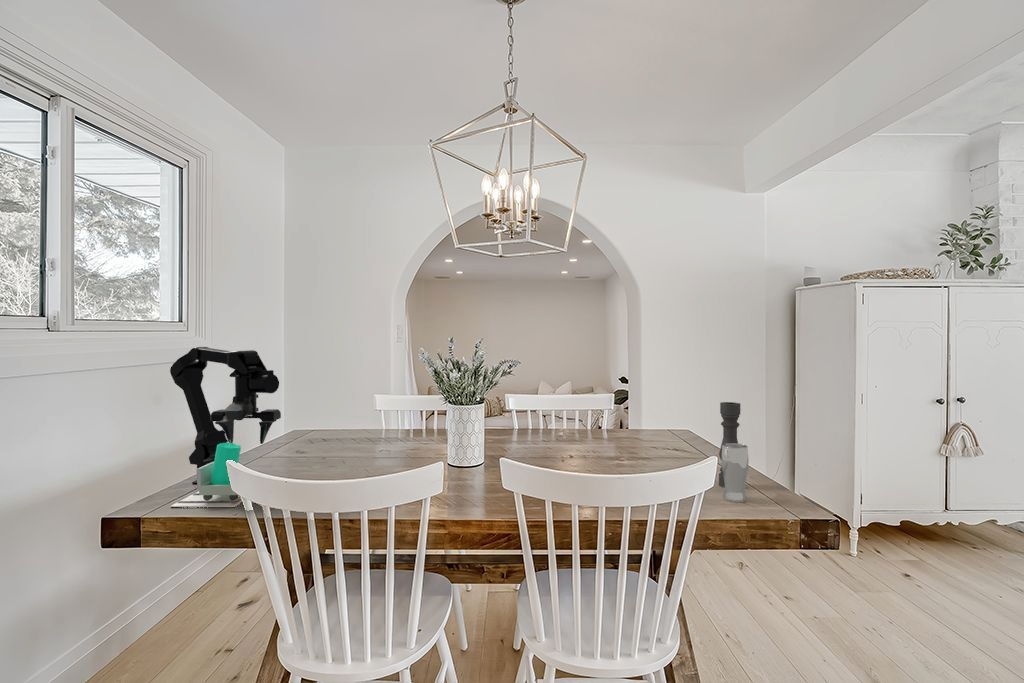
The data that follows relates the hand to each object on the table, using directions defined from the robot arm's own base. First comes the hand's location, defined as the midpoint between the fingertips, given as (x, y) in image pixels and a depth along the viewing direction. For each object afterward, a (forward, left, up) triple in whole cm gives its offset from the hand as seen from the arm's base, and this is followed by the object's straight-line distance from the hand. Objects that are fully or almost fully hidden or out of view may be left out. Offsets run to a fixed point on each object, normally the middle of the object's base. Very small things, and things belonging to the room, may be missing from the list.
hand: (246, 443), depth 164 cm
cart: (+13, 0, -12) cm, 18 cm away
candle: (+13, -1, -8) cm, 15 cm away
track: (+13, -3, -13) cm, 19 cm away
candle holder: (+1, +146, -13) cm, 147 cm away
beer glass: (+14, +142, -13) cm, 143 cm away
